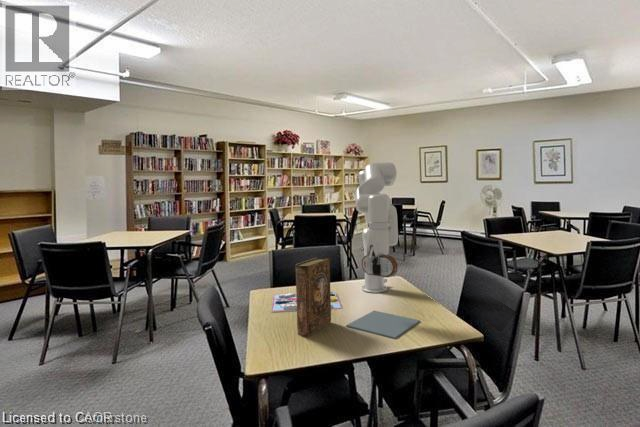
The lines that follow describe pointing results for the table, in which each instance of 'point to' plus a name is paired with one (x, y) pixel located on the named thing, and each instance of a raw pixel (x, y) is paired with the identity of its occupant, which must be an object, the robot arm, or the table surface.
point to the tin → (386, 263)
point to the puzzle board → (290, 302)
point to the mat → (383, 324)
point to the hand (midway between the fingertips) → (379, 273)
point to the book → (313, 295)
